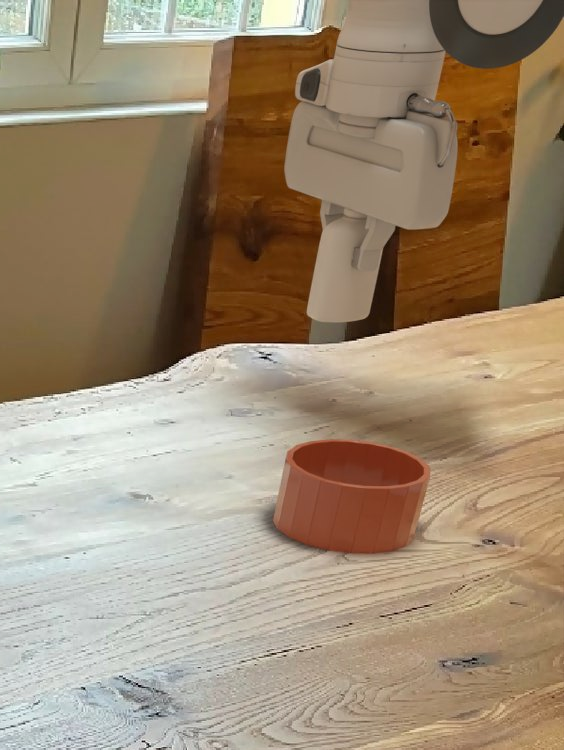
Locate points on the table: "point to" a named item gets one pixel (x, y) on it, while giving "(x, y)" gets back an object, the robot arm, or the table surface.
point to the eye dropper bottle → (341, 273)
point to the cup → (351, 496)
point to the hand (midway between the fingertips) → (347, 263)
